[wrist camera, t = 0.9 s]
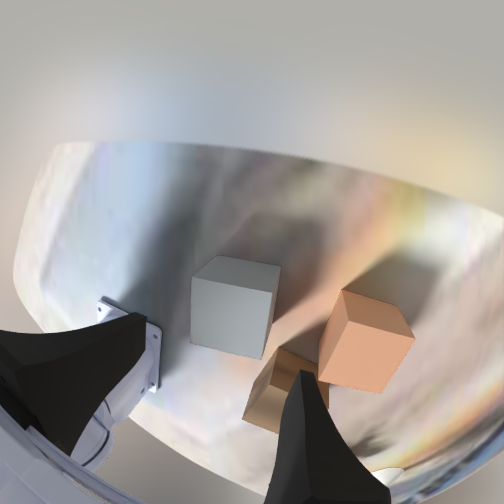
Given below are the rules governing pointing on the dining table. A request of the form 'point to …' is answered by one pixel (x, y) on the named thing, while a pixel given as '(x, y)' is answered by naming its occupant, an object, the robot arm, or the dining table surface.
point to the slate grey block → (233, 305)
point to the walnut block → (278, 389)
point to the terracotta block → (363, 343)
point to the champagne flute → (388, 475)
